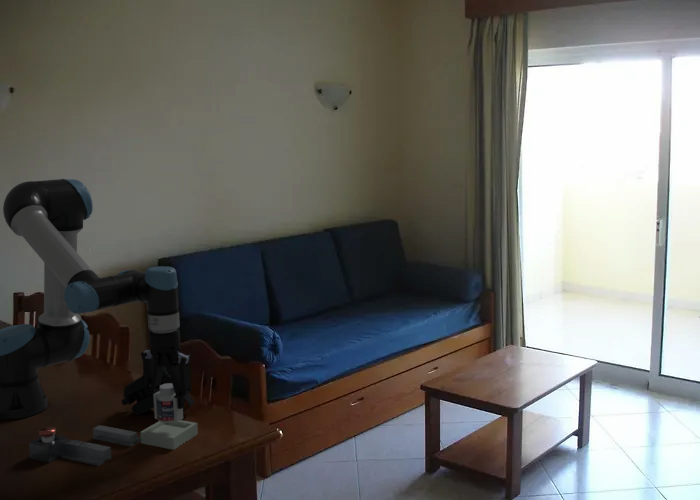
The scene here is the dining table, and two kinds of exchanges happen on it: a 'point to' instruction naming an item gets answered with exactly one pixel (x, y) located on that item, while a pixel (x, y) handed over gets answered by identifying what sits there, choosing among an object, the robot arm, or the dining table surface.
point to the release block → (47, 449)
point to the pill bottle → (166, 403)
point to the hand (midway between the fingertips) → (169, 418)
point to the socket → (96, 452)
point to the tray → (169, 434)
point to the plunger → (47, 434)
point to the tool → (147, 394)
